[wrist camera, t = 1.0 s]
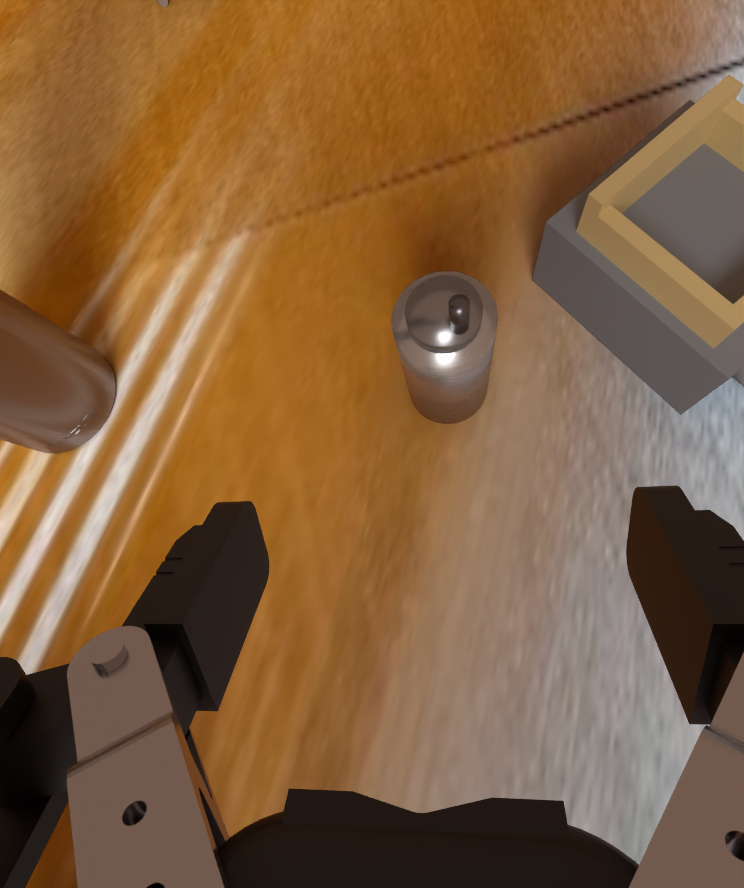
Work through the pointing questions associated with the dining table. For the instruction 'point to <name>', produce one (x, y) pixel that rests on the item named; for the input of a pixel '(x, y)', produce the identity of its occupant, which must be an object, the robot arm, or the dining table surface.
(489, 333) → the oil can
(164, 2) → the faucet
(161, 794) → the robot arm
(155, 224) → the dining table surface
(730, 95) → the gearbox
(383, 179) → the dining table surface
